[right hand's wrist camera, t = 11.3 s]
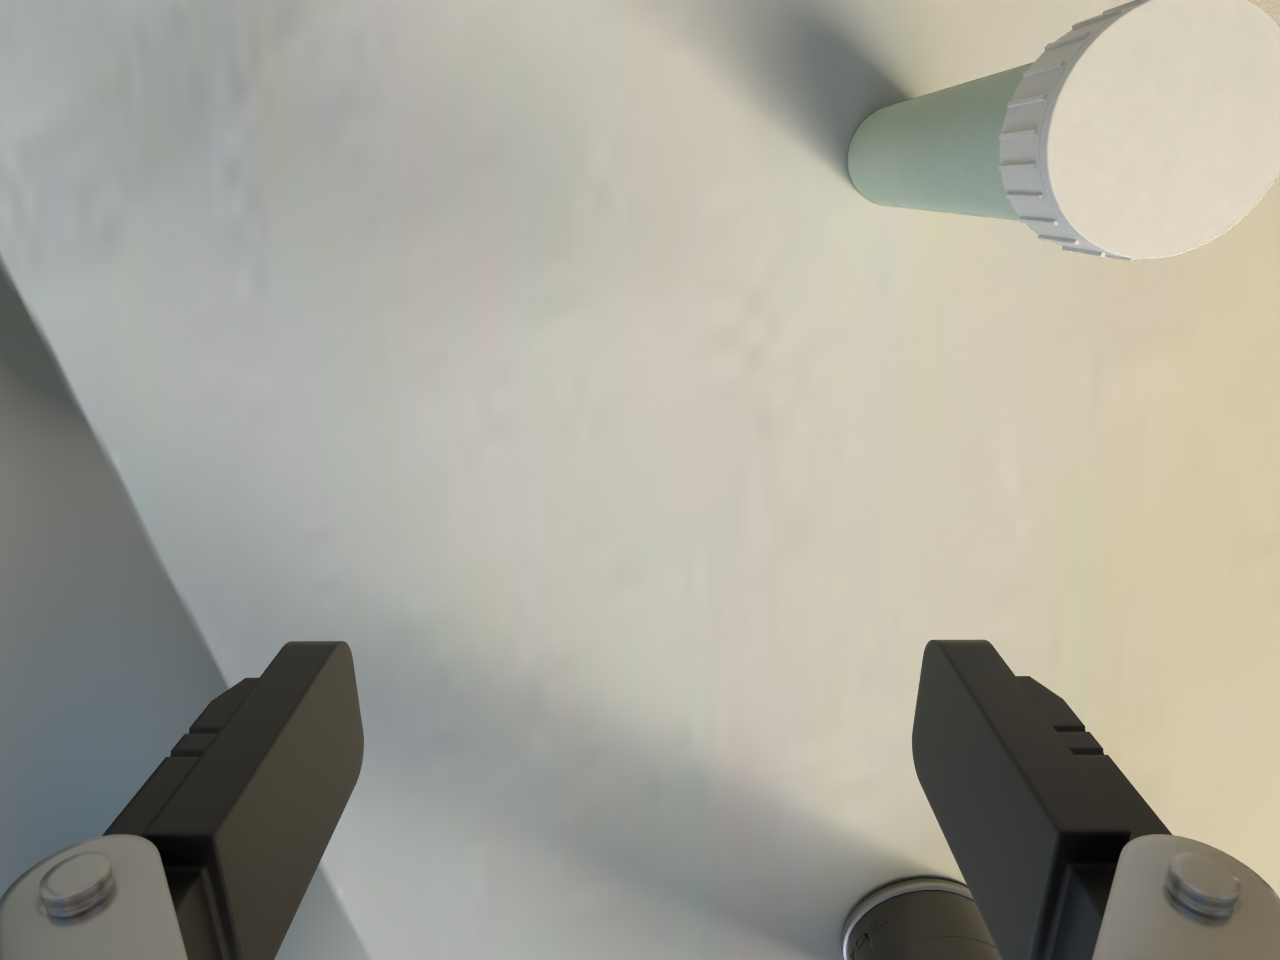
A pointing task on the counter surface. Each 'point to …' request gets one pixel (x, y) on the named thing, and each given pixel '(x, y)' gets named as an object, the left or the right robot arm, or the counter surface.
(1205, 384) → the counter surface
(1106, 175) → the lid
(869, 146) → the pale green cylinder
